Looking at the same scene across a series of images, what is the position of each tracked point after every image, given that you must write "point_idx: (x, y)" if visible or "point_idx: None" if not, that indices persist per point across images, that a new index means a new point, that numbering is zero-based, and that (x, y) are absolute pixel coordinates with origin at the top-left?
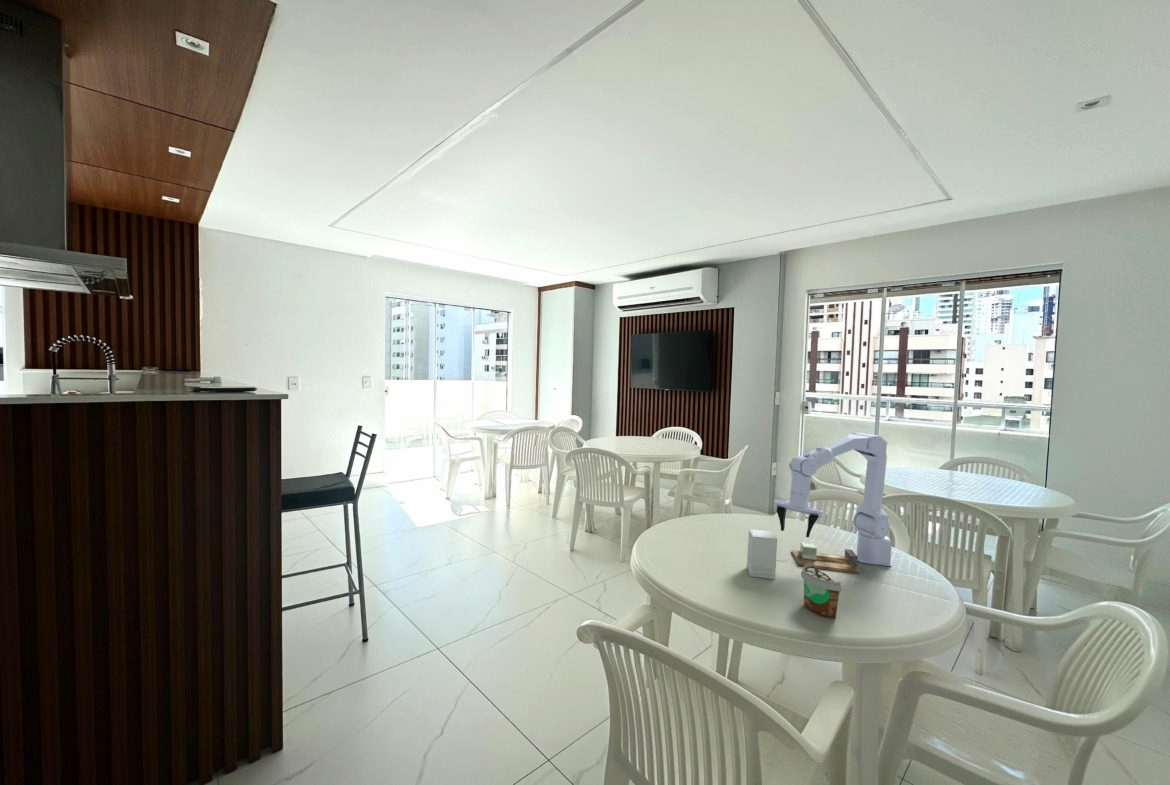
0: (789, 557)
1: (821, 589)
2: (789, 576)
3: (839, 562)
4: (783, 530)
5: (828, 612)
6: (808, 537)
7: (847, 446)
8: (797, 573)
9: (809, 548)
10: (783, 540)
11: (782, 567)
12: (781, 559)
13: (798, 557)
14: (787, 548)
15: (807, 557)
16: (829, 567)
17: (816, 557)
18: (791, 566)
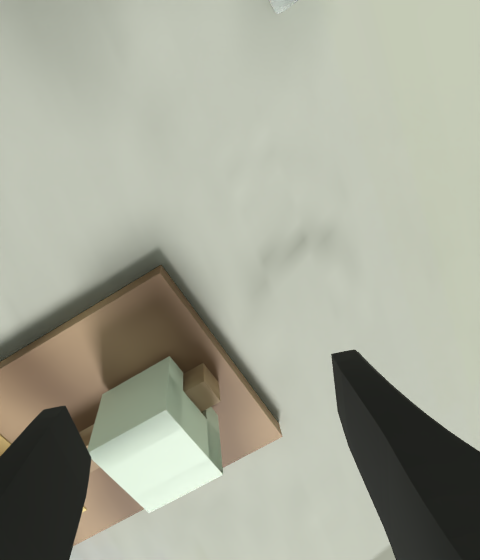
0: (259, 348)
1: None
2: (115, 9)
3: None
4: (334, 379)
5: None
6: (40, 413)
7: None
8: (106, 128)
9: (129, 423)
10: (367, 528)
11: (225, 148)
12: (283, 279)
13: (203, 358)
14: (315, 455)
15: (145, 374)
16: (3, 366)
17: None
18: (190, 219)
